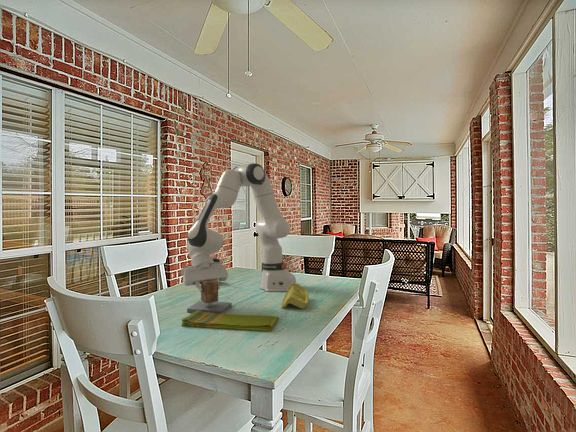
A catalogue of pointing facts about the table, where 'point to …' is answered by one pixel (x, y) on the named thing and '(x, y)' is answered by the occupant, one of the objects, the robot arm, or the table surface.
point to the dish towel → (230, 321)
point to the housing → (209, 291)
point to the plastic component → (296, 296)
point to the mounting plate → (210, 307)
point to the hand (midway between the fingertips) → (210, 290)
